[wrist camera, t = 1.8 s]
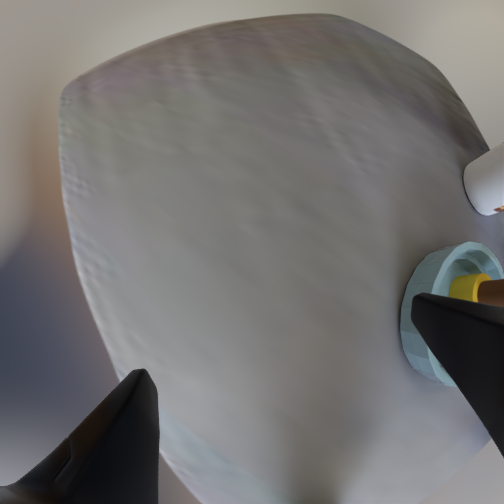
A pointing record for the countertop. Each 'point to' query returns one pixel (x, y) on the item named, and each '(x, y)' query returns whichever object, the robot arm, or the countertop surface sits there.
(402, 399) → the countertop surface
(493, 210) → the milk bottle
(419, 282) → the bowl
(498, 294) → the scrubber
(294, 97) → the countertop surface
